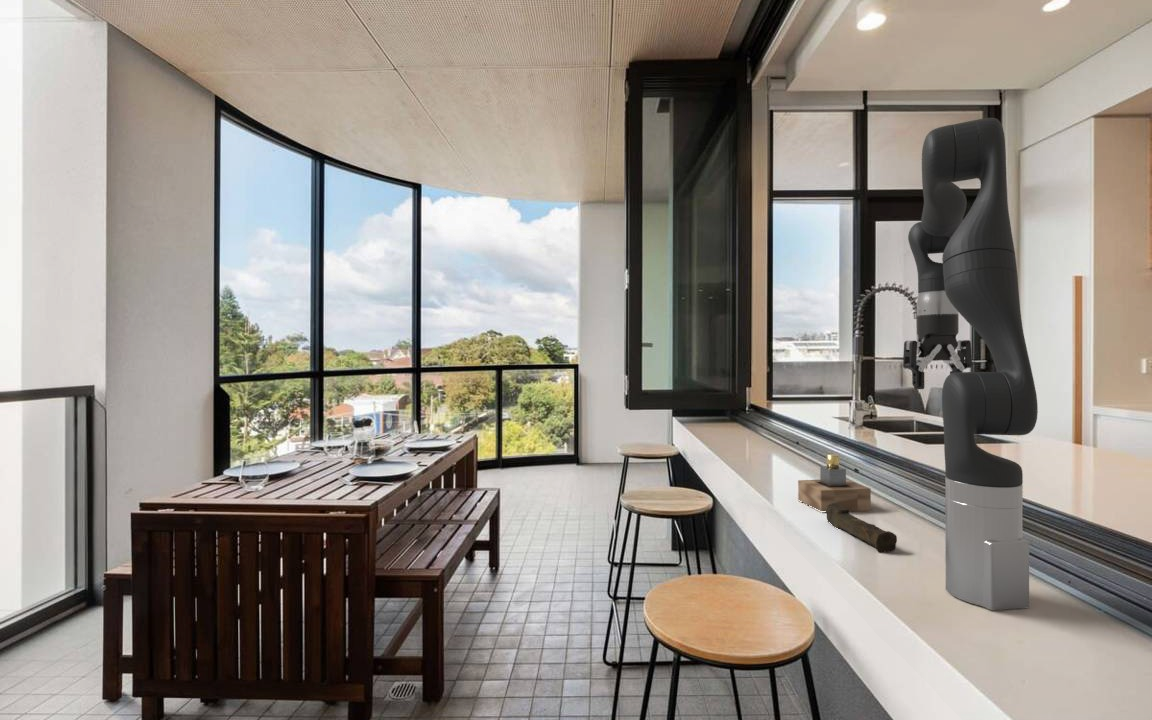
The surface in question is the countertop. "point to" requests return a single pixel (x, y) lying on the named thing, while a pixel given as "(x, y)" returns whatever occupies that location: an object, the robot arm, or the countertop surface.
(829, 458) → the bit
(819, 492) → the housing
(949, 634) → the countertop surface
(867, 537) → the dark brown rod
